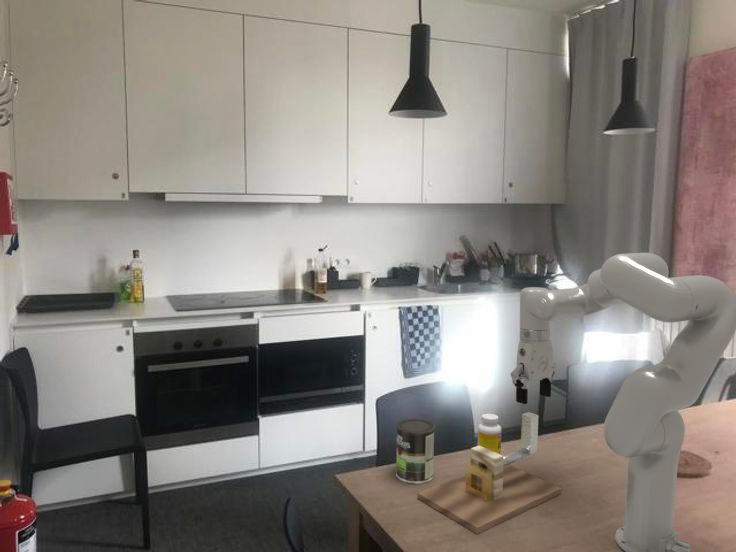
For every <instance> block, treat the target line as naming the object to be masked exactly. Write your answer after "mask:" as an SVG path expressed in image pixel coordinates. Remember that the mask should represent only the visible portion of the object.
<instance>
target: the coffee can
mask: <svg viewBox="0 0 736 552" xmlns="http://www.w3.org/2000/svg"><path fill="white" fill-rule="evenodd" d="M435 427H436V426H435V424H434V423H432V421H429V420H424V419H420V418H409V419H408V418H407V419H403V420H401V421H398V422H397V423H396V462H395V463H396V469H395V470H396V471H395V477H396V478H397V479H398V480H399V481H401V482H403V483H407V484H411V485H415V484H416V485H420V484H422V485H423V484H426V483H429V482H431V481H432V480H433V479H434V459H435V457H434V455H435V454H434V452H435V451H434V450H435V448H434V447H435V430H436V429H435Z"/></svg>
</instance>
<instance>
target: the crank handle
mask: <svg viewBox="0 0 736 552" xmlns="http://www.w3.org/2000/svg"><path fill="white" fill-rule="evenodd" d="M520 431H521V433H520V435H521V436H520V449H517V450H515V451H512V452H510V453H507V454H504V455H503V456H504V463H503V466H506V465H511V464H513V463H515V462H519V461H520V460H523V459H526V458H529V457H531V456H534V455H535V454H537V452H538V437H539V415H538V414H536V413H532V412H530V411H528V412H525V413H522V414H521V430H520ZM483 468H485V469H487V465H485V464H483Z"/></svg>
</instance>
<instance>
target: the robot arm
mask: <svg viewBox="0 0 736 552" xmlns="http://www.w3.org/2000/svg"><path fill="white" fill-rule="evenodd" d="M669 273H670V272H669V266H668V264H667V263H666V261H665V260H664V259H663V258H662V257H661V256H659V255H658V254H655V253H651V252H633V253H632V252H629V253H619V254H618V253H617V254H615V255H613V256H610V257H609V258H608V259H606V261H605V262H604V263H603V264H602V265H601V268H598V269H596V270H594V271H593V272H591V273H590V274H589V276H588V278H587V283H585V284H582V285H580V286H576V287H573V288H560V289H548V288H546V287H539V286H538V287H537V286H532V287H531V286H529V287H524V288H523V289H521V291H520V293H519V294H520V295H519V340H518V346H517V354H516V365H515V366H516V367H515V368H514V369H513V370H512V371H511V373H510V377H511V380H512V383H513V385H514V388H515V389H516V390H515V401H516V403H520V404H523V405H527V404H528V403H529V402H528V400H529V399H528V398H529V397H528V388H527V386H528V385H529V383H530V382H536V381H539V395H540V396H543V397H546V398H550V397H552V382H553V379H554V378H553V377H554V375H555V370H556V367H557V363H555V362H554V352H553V345H552V340H551V339H550V330H551V329H550V328H551V327H550V326H551V322H555V321H563V320H571V319H579V318H582V317H586V316H589V315H592V314H595V313H598V312H602V311H603V310H606V309H607V308H610V307H611V306H613V305H617V304H620V303H622V302H623V303H625V304H627V305H629V306H630V307H632V308H633V309H635V310H637V311H639V312H641V313H642V314H644V315H646V316H647V317H650V318H651V319H653V320H656V321H659V322H662V323H669V324H670V323H680V322H686V321H687V323H686V325H685V326H684V327H683V328H682V329H681V331H680V332H678V334H677V335H676V337H675V338H674V339H673V341H672V343H671V345H670V347H669V349H668V350H667V352H666V354H665V356H664V357H663V359H662V360H661V361H660V362H658V363H656V364H652V365H648V366H644V367H641V368H638V369H636V370H634V371H632V372H631V373H630V374H629V375H628V376H627V377H626V378H625V379H624V381H623V383H622V385H621V387H620V388H619V390H618V392H617V394H616V397H614V401H613V402H612V404H611V407H610V408H609V410H608V412H607V415H606V417H605V419H604V424H603V437H604V440H605V442H606V445H607V446H608V447H609V449H610V450H611V452H613V453H615V454H616V455H618V456H619V457H620V456H621V457H624V458H628V459H627V463H626V464H627V465H626V478H625V479H626V480H625V498H624V516H623V526H621V527H619V528H618V529H616V532H615V536H614V538H615V539H614V540H615V542H616V544H617V545H618V546H619V547H620V548H621V549H622V550H623V551H624V552H692V551H691V545H690V544H688V543H686V542H683V541H681V540H680V539H679V538H678V536H679V531H677V530H675V529H674V519H675V506H676V505H675V503H676V492H677V491H676V490H677V480H678V479H677V476H678V467H679V459H680V455H681V452H682V447H683V442H684V439H685V428H686V427H685V422H684V419H683V416H682V415H681V413H680V412H679V411H682V410H684V409H687V408H690V407H692V405H694V404H695V403H696V402H697V400H698V399H699V398H700V395H701V394H702V392H703V390H704V388H705V387H706V385H707V383H708V381H709V379H710V377H711V376H712V374H713V372H714V370H715V368H716V367H717V364H718V363H719V361H720V359H721V357H722V356H723V354H724V353H725V351H726V350H727V348H728V346H729V345H730V344H731V341H732V339H733V338H734V335H735V333H736V297H735V295H734V293H733V291H732V290H731V289H730V287H729V286H727V284H726V283H725V282H724V281H722V280H720V279H718V278H716V277H713V276H708V275H704V274H703V275H700V274H698V275H685V276H684V275H683V276H676V277H669Z"/></svg>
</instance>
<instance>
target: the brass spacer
mask: <svg viewBox="0 0 736 552" xmlns="http://www.w3.org/2000/svg"><path fill="white" fill-rule="evenodd" d="M465 465H466V467H465V468H466V469H465V473H466V491H467V492H469V493H471V494H472V495H474V496H476V497H478V498H480V499H482V500H484V501H486V502H488V501H491V500H492V498H493V472H491V471H489V470H487V469H485V468H483V467H481V466H479V465H477V464H474V463H472V462H471V461H470V462H469V463H466V464H465ZM477 476H478V477H480V478H482V487H480V486H478V485H476V482H477Z"/></svg>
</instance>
